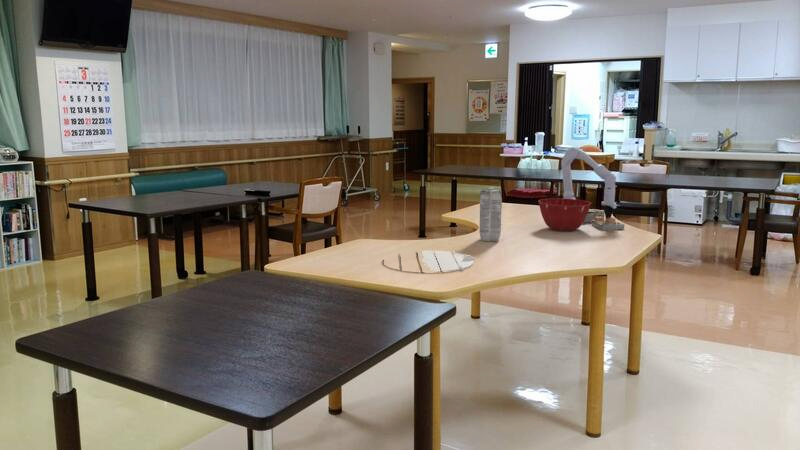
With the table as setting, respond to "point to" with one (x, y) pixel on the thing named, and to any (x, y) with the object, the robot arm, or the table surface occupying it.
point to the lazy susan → (447, 260)
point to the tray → (610, 226)
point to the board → (602, 223)
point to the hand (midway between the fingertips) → (608, 219)
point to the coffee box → (593, 215)
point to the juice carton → (490, 214)
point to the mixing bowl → (564, 213)
